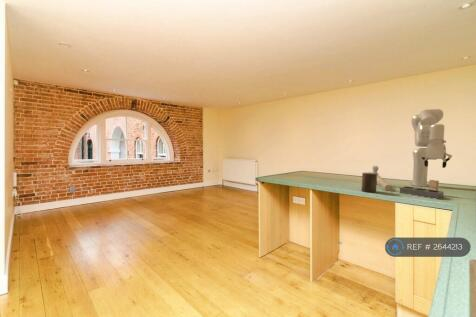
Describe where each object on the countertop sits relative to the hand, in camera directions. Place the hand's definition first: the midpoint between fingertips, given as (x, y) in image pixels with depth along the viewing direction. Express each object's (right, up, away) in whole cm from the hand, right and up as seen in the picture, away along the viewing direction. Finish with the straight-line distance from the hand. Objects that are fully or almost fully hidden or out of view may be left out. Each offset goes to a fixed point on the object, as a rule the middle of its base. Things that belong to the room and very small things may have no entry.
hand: (434, 167), depth 160 cm
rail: (-10, -19, 0) cm, 22 cm away
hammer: (-21, -18, +28) cm, 39 cm away
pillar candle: (-39, -19, +13) cm, 45 cm away
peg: (0, -19, +2) cm, 19 cm away
